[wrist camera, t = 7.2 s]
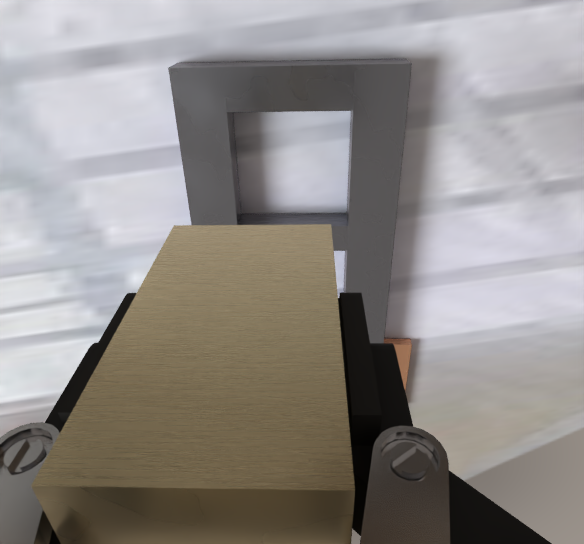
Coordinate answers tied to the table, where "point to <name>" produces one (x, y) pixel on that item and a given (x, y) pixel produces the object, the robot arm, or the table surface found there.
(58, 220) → the table surface
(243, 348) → the brass block
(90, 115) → the table surface
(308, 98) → the rail frame
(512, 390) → the table surface
